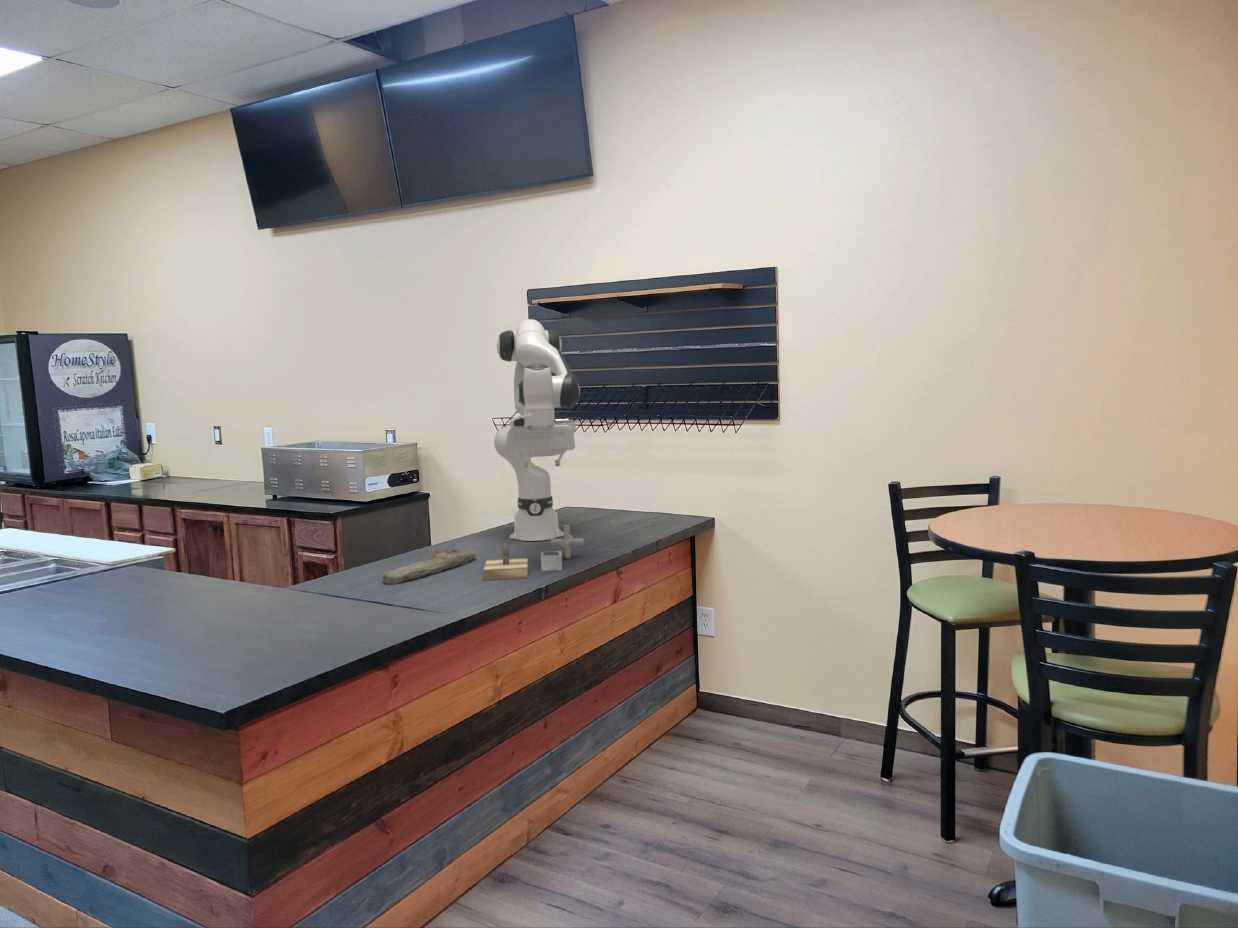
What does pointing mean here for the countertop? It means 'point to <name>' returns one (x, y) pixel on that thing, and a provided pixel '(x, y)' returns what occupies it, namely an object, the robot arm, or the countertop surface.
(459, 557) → the long grey stone
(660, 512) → the countertop surface
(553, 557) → the silver square ring
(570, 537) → the pipe connector
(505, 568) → the shaft stand
